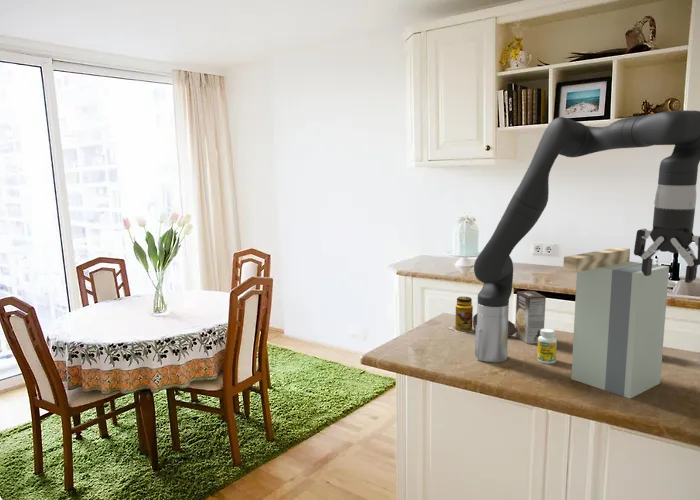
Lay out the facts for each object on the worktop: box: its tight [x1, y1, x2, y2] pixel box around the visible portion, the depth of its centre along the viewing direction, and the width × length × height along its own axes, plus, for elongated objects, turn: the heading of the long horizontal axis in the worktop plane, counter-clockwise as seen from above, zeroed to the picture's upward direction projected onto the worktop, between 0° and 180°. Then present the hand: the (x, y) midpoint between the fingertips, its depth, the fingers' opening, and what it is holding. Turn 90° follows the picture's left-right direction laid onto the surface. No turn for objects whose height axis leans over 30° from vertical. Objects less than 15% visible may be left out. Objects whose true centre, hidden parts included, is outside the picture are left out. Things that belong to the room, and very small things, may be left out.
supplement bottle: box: [536, 328, 558, 365], centre depth 158 cm, size 5×5×10 cm
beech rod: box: [562, 247, 631, 273], centre depth 138 cm, size 26×4×4 cm, turn 125°
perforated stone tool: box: [472, 313, 516, 337], centre depth 184 cm, size 15×5×7 cm, turn 54°
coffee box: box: [514, 290, 547, 345], centre depth 178 cm, size 9×6×16 cm
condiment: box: [447, 296, 476, 334], centre depth 191 cm, size 7×8×12 cm
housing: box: [571, 260, 670, 399], centre depth 140 cm, size 16×16×32 cm
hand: (667, 278), depth 116 cm, fingers open, 8 cm apart
